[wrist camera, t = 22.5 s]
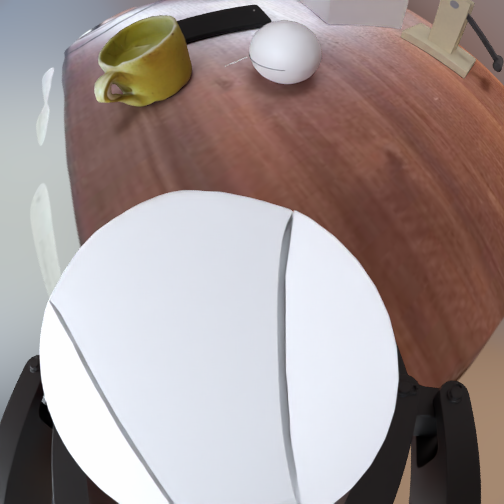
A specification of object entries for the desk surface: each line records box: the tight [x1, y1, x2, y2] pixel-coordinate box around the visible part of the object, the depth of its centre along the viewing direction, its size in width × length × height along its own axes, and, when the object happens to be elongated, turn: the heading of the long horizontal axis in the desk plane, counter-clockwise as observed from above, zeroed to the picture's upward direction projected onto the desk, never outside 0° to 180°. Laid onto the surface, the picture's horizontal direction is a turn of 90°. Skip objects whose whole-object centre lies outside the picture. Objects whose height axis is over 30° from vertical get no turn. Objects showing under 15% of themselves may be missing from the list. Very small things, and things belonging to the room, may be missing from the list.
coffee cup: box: [40, 190, 399, 504], centre depth 11 cm, size 8×8×15 cm
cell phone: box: [177, 5, 271, 43], centre depth 30 cm, size 9×18×1 cm, turn 104°
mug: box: [94, 15, 192, 106], centre depth 23 cm, size 12×10×10 cm
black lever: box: [466, 13, 503, 72], centre depth 18 cm, size 13×6×2 cm, turn 45°
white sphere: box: [225, 20, 322, 84], centre depth 22 cm, size 10×7×7 cm
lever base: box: [401, 0, 476, 78], centre depth 21 cm, size 12×10×13 cm
